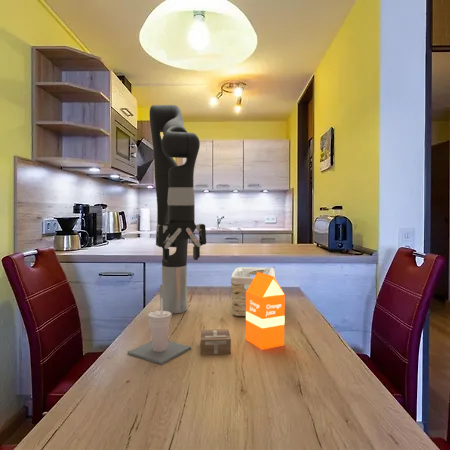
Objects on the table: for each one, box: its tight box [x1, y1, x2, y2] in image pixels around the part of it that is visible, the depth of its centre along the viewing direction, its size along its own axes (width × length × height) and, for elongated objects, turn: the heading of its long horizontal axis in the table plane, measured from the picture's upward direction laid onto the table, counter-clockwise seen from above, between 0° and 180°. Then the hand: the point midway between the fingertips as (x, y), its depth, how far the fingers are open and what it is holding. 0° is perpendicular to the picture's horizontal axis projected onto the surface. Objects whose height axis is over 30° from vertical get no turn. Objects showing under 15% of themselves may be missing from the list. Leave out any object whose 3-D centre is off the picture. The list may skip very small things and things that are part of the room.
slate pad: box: [127, 340, 192, 365], centre depth 98 cm, size 12×12×1 cm
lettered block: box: [200, 328, 232, 355], centre depth 101 cm, size 8×8×4 cm
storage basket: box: [230, 266, 277, 317], centre depth 140 cm, size 24×16×15 cm
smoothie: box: [147, 298, 172, 352], centre depth 98 cm, size 6×6×14 cm
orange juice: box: [245, 272, 286, 351], centre depth 105 cm, size 8×9×20 cm
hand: (181, 260), depth 104 cm, fingers open, 8 cm apart
